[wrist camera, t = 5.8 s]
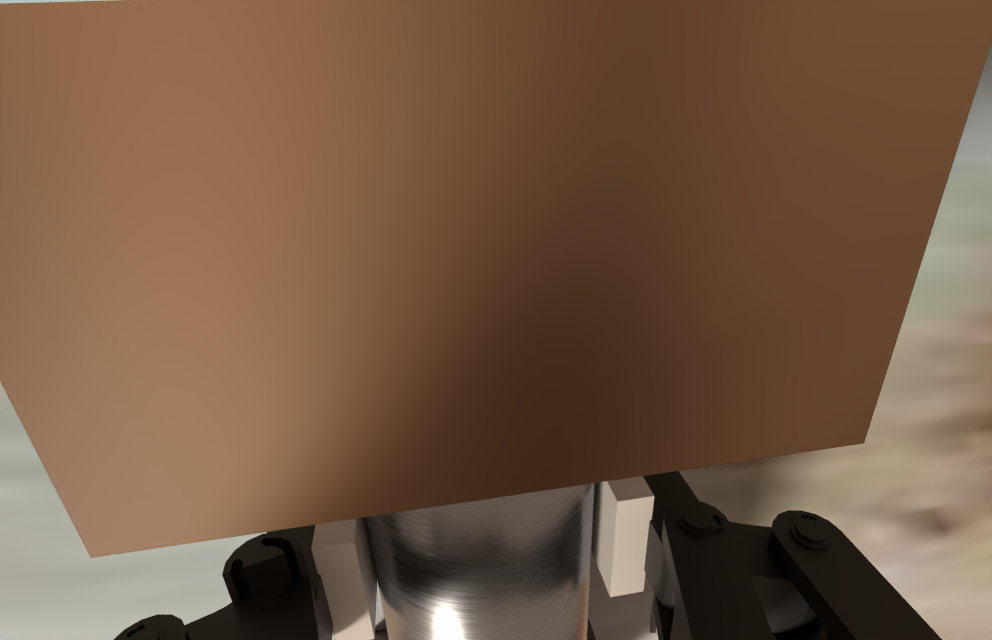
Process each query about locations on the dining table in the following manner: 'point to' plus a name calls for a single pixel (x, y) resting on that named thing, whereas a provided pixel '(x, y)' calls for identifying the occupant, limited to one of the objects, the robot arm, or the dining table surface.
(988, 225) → the dining table surface
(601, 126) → the socket
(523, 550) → the tube
